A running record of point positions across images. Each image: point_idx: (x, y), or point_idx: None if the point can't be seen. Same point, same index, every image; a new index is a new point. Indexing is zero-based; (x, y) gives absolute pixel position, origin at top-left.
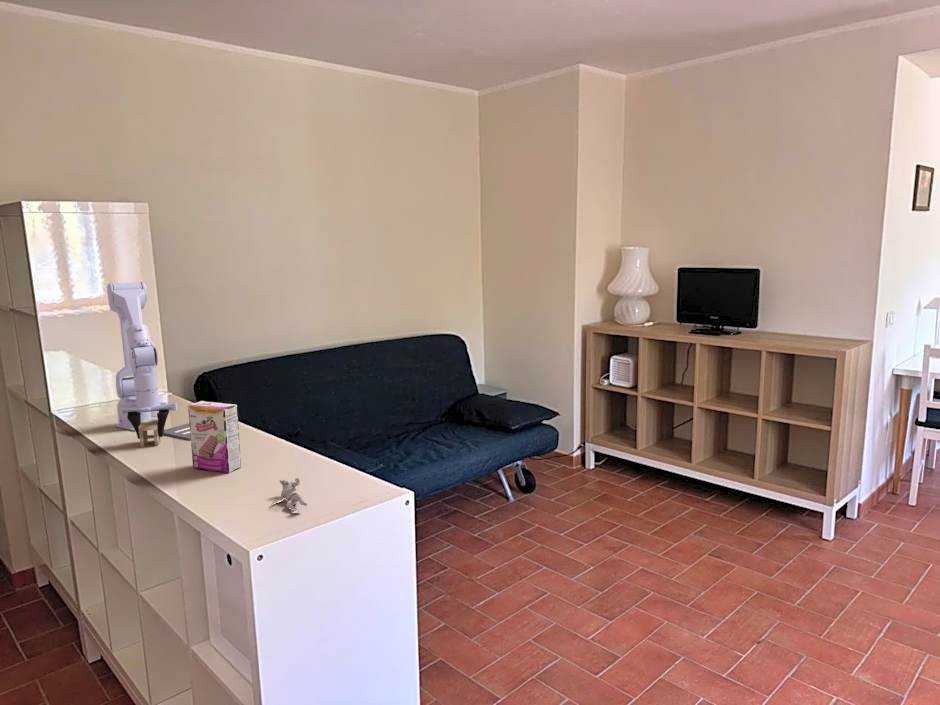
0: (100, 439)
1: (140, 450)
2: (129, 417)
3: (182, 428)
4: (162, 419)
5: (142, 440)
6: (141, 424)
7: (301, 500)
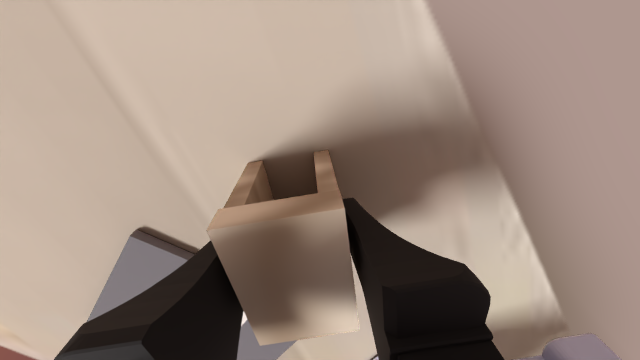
0: (516, 266)
1: (310, 98)
2: (458, 275)
3: (245, 340)
4: (152, 296)
5: (318, 165)
6: (341, 259)
7: None
